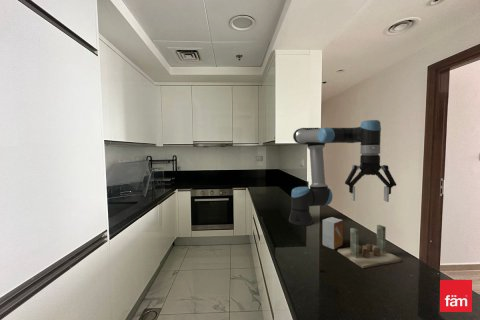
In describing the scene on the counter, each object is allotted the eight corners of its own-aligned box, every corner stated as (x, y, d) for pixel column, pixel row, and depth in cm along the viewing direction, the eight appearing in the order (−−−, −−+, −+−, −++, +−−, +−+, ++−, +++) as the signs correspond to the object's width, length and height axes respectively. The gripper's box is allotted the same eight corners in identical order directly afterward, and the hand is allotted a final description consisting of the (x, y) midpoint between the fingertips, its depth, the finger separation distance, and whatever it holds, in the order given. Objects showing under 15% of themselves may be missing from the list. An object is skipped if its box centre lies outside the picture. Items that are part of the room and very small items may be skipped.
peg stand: (337, 251, 92) (337, 224, 91) (372, 246, 96) (372, 220, 96) (362, 268, 78) (362, 236, 78) (401, 261, 83) (401, 231, 82)
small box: (334, 250, 93) (334, 223, 93) (322, 244, 98) (322, 219, 98) (343, 245, 98) (343, 219, 97) (331, 240, 103) (331, 216, 102)
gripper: (342, 155, 88) (342, 201, 89) (406, 154, 82) (405, 203, 83) (338, 154, 95) (337, 197, 96) (396, 154, 89) (395, 199, 90)
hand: (369, 200), depth 89 cm, fingers open, 13 cm apart
